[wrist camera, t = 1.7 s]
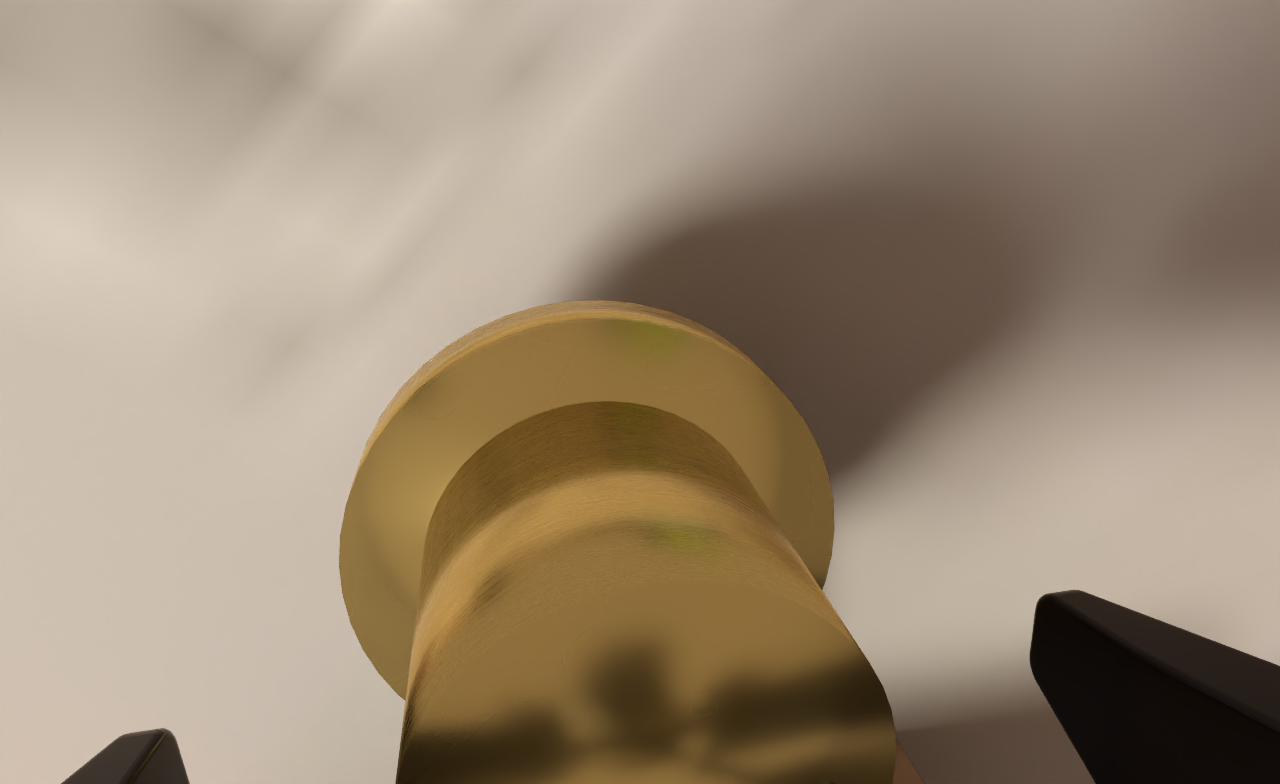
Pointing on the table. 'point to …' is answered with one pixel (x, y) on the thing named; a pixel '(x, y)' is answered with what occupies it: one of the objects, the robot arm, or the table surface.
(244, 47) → the table surface
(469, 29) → the table surface
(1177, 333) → the table surface
